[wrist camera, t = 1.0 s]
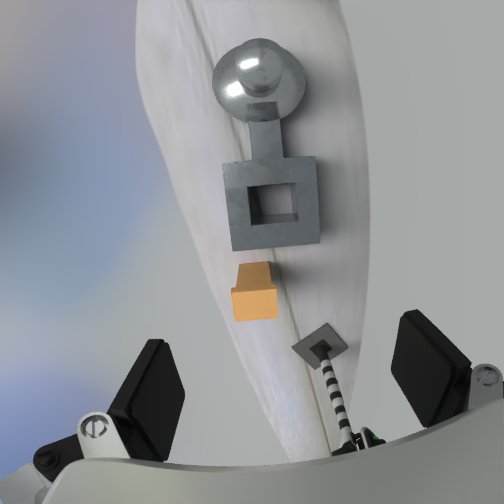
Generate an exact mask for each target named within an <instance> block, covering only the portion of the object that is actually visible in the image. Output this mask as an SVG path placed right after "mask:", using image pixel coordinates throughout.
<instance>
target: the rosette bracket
mask: <svg viewBox="0 0 504 504" xmlns="http://www.w3.org/2000/svg"><path fill="white" fill-rule="evenodd" d="M212 86H213V91H214V94H215V96H216V98H217V100H218V102H219V104H220V105H221V106H222V107H223V109H224V110H225V111H226V112H228V113H229V114H230V115H232V116H233V117H235V118H237V119H239V120H242V121H245V122H248V123H249V133H250V142H251V151H252V161H243V162H235V163H226V164H222V168H223V177H224V185H225V194H226V202H227V210H228V218H229V226H230V234H231V242H232V250H233V251H243V250H253V249H264V248H274V247H285V246H295V245H306V244H316V243H320V221H319V201H318V185H317V172H316V160H315V156H307V157H290V158H284V157H283V147H282V137H281V128H280V119H282V118H284V117H285V116H287V115H288V114H290V113H291V112H292V111H293V110H294V109H295V108H296V107H297V105H298V104H299V103H300V101H301V99H302V97H303V95H304V92H305V86H306V80H305V74H304V71H303V68H302V66H301V65H300V63H299V62H298V60H297V59H296V58H295V57H294V56H293V55H292V54H291V53H290V52H288V51H287V50H285V49H284V48H282V47H280V46H279V45H278V44H277V43H275V42H273V41H271V40H268V39H262V38H258V39H252V40H249V41H246V42H245V43H243V44H242V45H240V46H237V47H235V48H233V49H232V50H230V51H229V52H227V53H226V54H225V55H224V56H223V57H222V58H221V59H220V60H219V62H218V64H217V65H216V67H215V70H214V73H213V78H212ZM281 183H290V185H291V197H292V210H293V213H292V214H280V215H269V216H259V217H251V209H250V199H249V190H248V186H258V185H269V184H281Z"/></svg>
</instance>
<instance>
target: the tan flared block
mask: <svg viewBox="0 0 504 504" xmlns="http://www.w3.org/2000/svg"><path fill="white" fill-rule="evenodd" d="M231 298H232V304H233V311H234V317H235V321H247V320H259V319H271V318H278V305H277V291H276V284H272V282H271V275H270V268H269V261H268V262H258V263H247V264H239V270H238V277H237V284H236V288H231Z"/></svg>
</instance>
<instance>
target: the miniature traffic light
mask: <svg viewBox="0 0 504 504" xmlns="http://www.w3.org/2000/svg"><path fill="white" fill-rule="evenodd" d="M347 348H348V347H347V346H346V344H345V343H344V342H343V341H342V340H341V339H340V338H339V336H338V335H337V334H336V333H335V332H334V331H333V329H332V328H331V327H330V326H329V325H328V324H327V323H326V324H324V325H323V326H322V327H320V328H319V329H317V330H316V331H314V332H313V333H312V334H310V335H309V336H307V337H306V338H304V339H303V340H301V341H300V342H298V343H297V344H295V345H294V346H292V349H293V350H294V351H295V352H296V353H297V354H299V355H300V356H301V357H302V358H303V359H304V360H305V361H306V362H307V363H308V364H309V365H310V366H311V367H312V368H313V369H317V368H319V367H320V366H321V368H322V371H323V374H324V378H325V381H326V384H327V388H328V391H329V395H330V398H331V402H332V405H333V407H334V409H335V412H336V416H337V419H338V423H339V426H340V430H341V434H342V437H343V441H344V444H343V446H342V448H340V449H338V450H335V451H333V452H332V457H333V456H338V455H343V454H347V453H351V452H356V451H358V450H357V446H356V444H357V443H358V446H359V450H363V449H367V448H371V447H375V446H378V445H381V444H385V443H386V441H385V440H383V439H379V438H377V437H376V436H375V435H374V434H373V432H371V430H369V429H368V428H367V427H363V428H362V429H361V433H357V434H354V433H352V430H351V426H350V423H349V420H348V417H347V414H346V410H345V407H344V401H343V398H342V395H341V392H340V389H339V386H338V381H337V380H336V377H335V374H334V371H333V368H332V365H331V362H330V360H331V359H333V358H334V357H336V356H337V355H339V354H340V353H342V352H343V351H345V350H346V349H347ZM358 438H360V439H358ZM356 439H358V440H357V441H356Z"/></svg>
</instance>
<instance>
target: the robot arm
mask: <svg viewBox="0 0 504 504" xmlns="http://www.w3.org/2000/svg"><path fill="white" fill-rule="evenodd" d="M471 364H472V363H471V361H470V360H469V359H468V358H467V357H466V356H465V355H464V354H463V353H462V352H461V351H460V350H459V349H458V348H457V347H456V346H455V345H454V344H453V343H452V342H451V341H450V340H449V339H448V338H447V337H446V336H445V335H444V334H443V333H442V332H441V331H440V330H439V329H438V328H437V327H436V326H435V325H434V324H433V323H432V322H431V321H430V320H429V319H428V318H426V317H425V316H424V315H423V314H422V313H421V312H420V311H419V310H418V309H416V310H411V311H407V312H405V313H404V314H403V316H402V317H401V318H400V323H399V329H398V335H397V340H396V345H395V350H394V355H393V360H392V365H391V372H392V374H393V376H394V378H395V380H396V381H397V383H398V385H399V386H400V388H401V390H402V391H403V393H404V395H405V396H406V398H407V400H408V402H409V403H410V405H411V407H412V408H413V410H414V412H415V414H416V415H417V417H418V419H419V420H420V423H421V424H422V425H423V427H427V429H424V430H422V431H419V432H417V433H414V434H411V435H409V436H406V437H403V438H400V439H397V440H394V441H391V442H388V443H385V444H381V445H378V446H375V447H371V448H367V449H363V450H360V451H356V452H351V453H347V454H343V455H338V456H333V457H328V458H322V459H316V460H310V461H303V462H296V463H287V464H277V465H264V466H242V467H241V466H236V467H235V466H234V467H227V466H226V467H225V466H224V467H223V466H198V465H182V464H172V463H163V461H167V460H168V457H169V454H170V450H171V446H172V442H173V439H174V435H175V431H176V427H177V424H178V420H179V417H180V413H181V410H182V406H183V402H184V399H185V391H184V388H183V385H182V382H181V380H180V377H179V374H178V371H177V368H176V365H175V362H174V359H173V356H172V353H171V350H170V346H169V344H168V343H165V342H164V340H163V339H149V340H148V341H147V343H146V344H145V346H144V348H143V349H142V351H141V353H140V355H139V356H138V358H137V360H136V361H135V363H134V365H133V367H132V368H131V370H130V372H129V373H128V375H127V377H126V379H125V381H124V382H123V384H122V386H121V388H120V389H119V391H118V393H117V395H116V397H115V398H114V400H113V402H112V404H111V406H110V408H109V410H108V411H107V413H103V412H92V413H89V414H87V415H85V416H84V417H83V418H81V419H80V421H79V422H78V425H77V434H74V435H72V436H69V437H67V438H64V439H62V440H59V441H56V442H54V443H51V444H48V445H45V446H43V447H41V448H39V449H38V450H37V451H36V453H35V454H34V458H33V464H30V462H28V463H27V464H25V465H24V466H22V467H21V468H19V469H18V470H16V471H15V472H13V473H12V474H10V475H9V476H7V477H6V478H4V479H3V480H1V481H0V498H1V500H2V502H3V504H504V381H503V377H502V373H501V372H500V370H499V369H498V368H497V367H495V366H493V365H490V364H480V365H478V366H476V367H474V369H472V368H471V367H470V366H471Z"/></svg>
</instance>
